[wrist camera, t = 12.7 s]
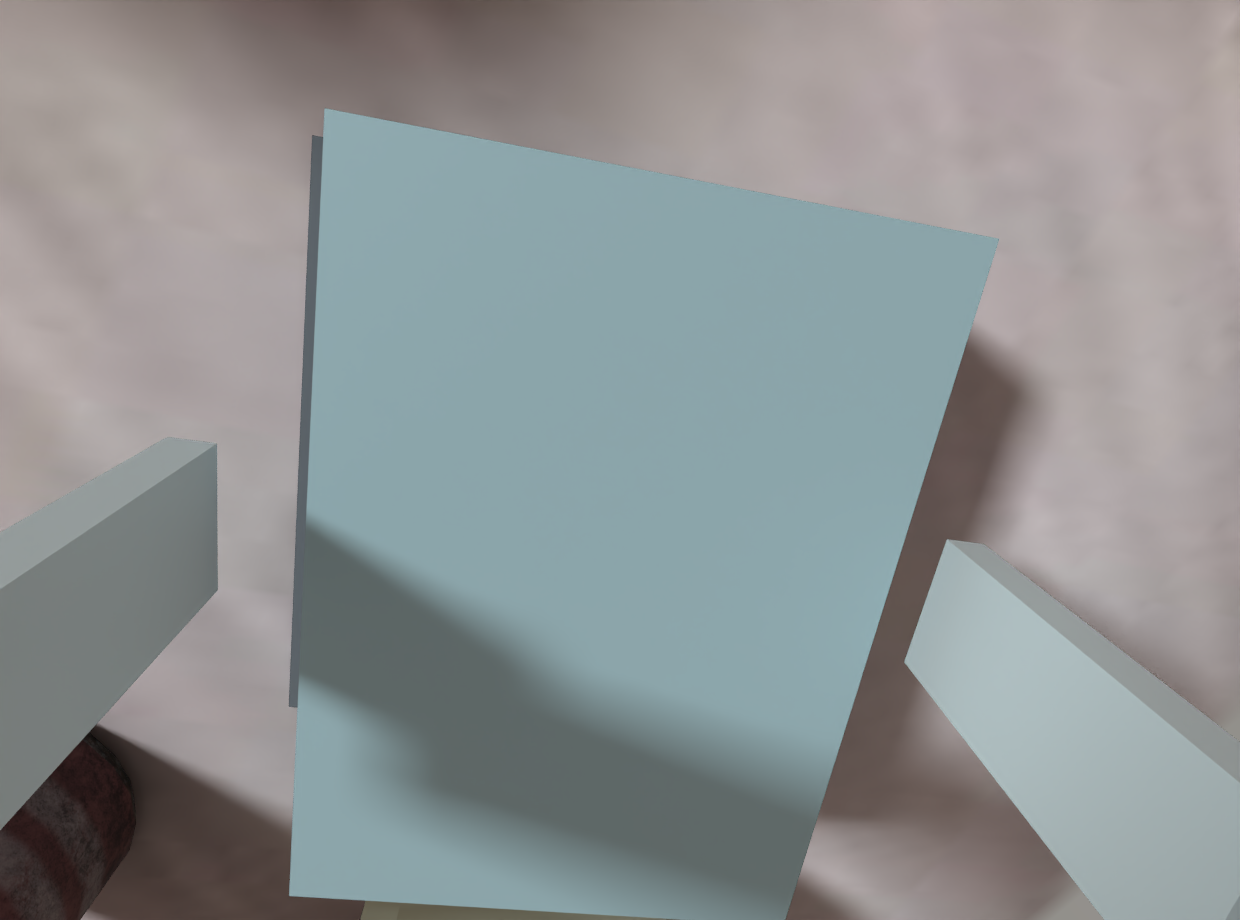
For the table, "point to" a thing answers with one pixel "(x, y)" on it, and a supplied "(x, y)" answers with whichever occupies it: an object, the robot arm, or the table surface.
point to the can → (67, 837)
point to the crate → (471, 913)
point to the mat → (305, 410)
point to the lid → (597, 521)
